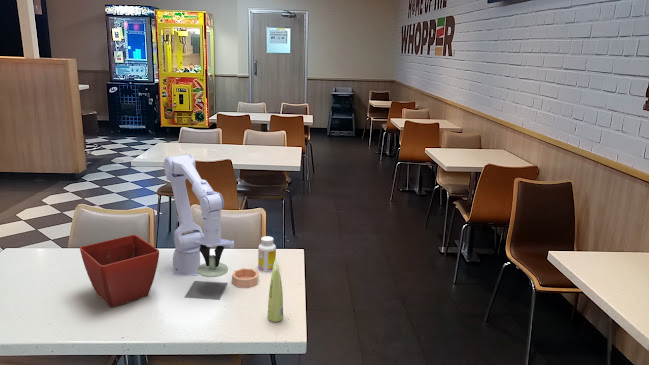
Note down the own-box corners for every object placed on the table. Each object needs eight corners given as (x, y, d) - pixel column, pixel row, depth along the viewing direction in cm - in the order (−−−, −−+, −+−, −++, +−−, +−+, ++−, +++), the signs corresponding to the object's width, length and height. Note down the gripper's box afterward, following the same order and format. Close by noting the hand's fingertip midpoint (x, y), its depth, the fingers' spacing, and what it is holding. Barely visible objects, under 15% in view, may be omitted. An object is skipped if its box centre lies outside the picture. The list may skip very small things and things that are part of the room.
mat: (184, 298, 165) (184, 297, 165) (194, 282, 177) (194, 280, 177) (219, 301, 165) (219, 299, 165) (227, 284, 177) (227, 282, 176)
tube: (262, 317, 157) (263, 261, 151) (274, 311, 160) (275, 256, 155) (275, 324, 153) (276, 267, 148) (286, 318, 157) (288, 262, 152)
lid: (193, 276, 165) (192, 261, 164) (202, 263, 175) (201, 249, 174) (223, 278, 165) (223, 264, 163) (230, 265, 175) (231, 251, 173)
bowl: (230, 287, 174) (230, 278, 173) (235, 276, 183) (235, 267, 182) (255, 289, 174) (255, 280, 173) (259, 277, 182) (259, 269, 182)
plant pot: (137, 276, 179) (135, 233, 174) (162, 296, 166) (160, 250, 161) (82, 292, 166) (78, 246, 161) (105, 316, 153) (101, 266, 148)
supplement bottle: (277, 266, 193) (277, 235, 189) (273, 273, 186) (274, 242, 183) (260, 264, 193) (260, 234, 190) (256, 272, 187) (256, 241, 183)
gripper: (187, 231, 162) (188, 269, 166) (230, 234, 162) (230, 271, 165) (193, 224, 169) (194, 260, 173) (235, 226, 168) (235, 263, 172)
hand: (212, 265), depth 169 cm, fingers closed on lid, 3 cm apart
